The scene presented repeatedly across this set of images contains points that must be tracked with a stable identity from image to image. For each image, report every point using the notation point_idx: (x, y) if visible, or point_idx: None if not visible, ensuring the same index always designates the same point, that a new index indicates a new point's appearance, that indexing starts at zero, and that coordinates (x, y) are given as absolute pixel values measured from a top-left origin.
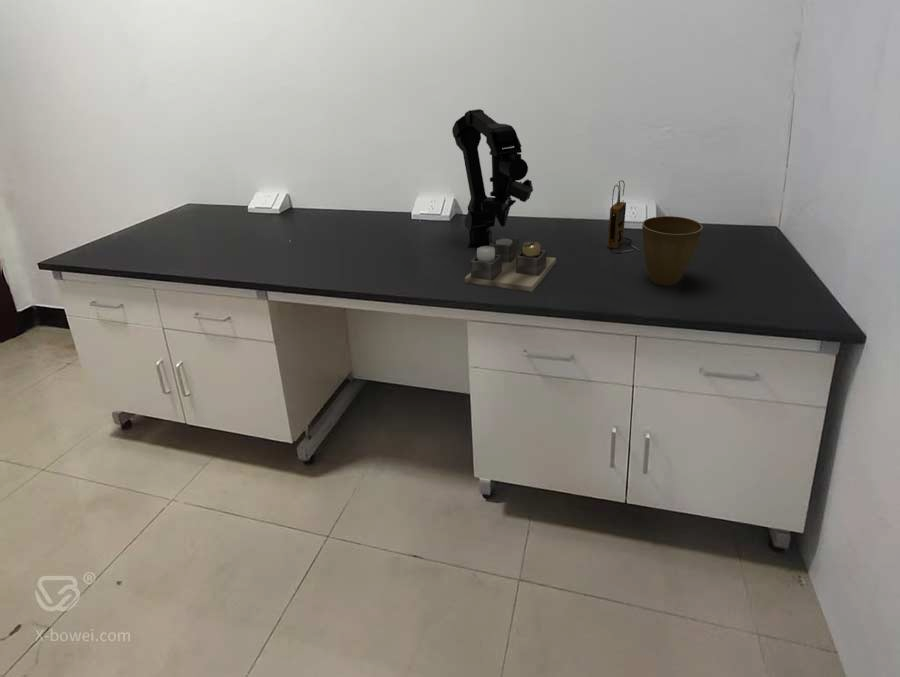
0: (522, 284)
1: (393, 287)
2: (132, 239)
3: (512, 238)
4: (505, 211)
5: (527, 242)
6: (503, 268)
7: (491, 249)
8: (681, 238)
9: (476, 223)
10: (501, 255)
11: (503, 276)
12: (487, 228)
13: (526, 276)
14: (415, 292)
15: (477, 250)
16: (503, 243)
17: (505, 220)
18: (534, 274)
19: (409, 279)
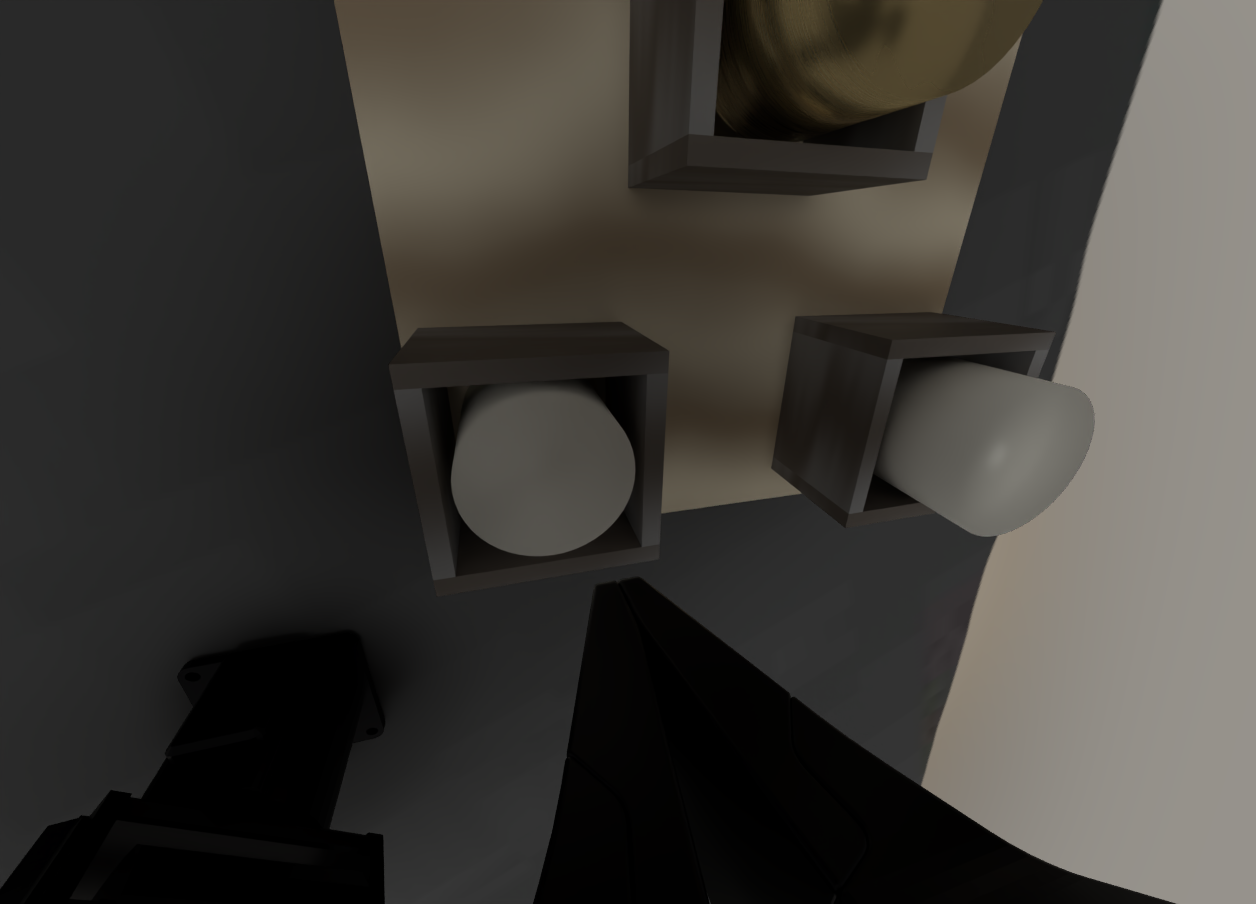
0: (1002, 60)
1: (918, 667)
2: None
3: (406, 443)
4: (971, 847)
5: (865, 28)
6: (744, 328)
7: (1042, 415)
8: None
9: (368, 889)
10: (898, 339)
11: (873, 269)
12: (223, 791)
13: None
14: (961, 585)
15: (1041, 511)
16: (609, 458)
17: (675, 638)
18: None
19: (851, 671)
